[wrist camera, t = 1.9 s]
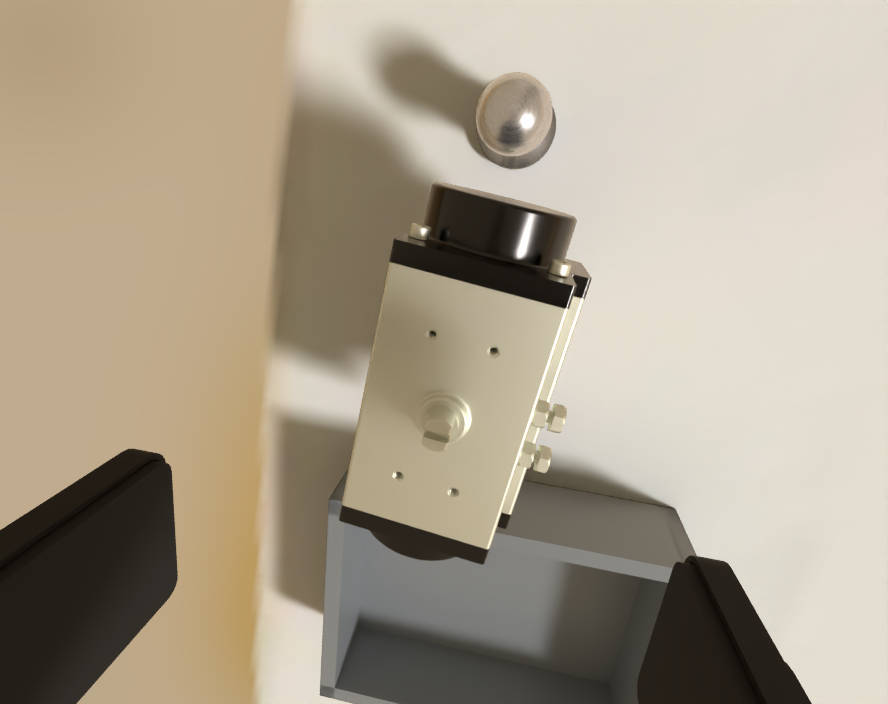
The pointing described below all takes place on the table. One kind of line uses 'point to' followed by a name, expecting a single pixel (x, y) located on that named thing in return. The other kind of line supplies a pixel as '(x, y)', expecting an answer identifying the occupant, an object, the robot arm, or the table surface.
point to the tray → (502, 607)
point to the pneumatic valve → (463, 373)
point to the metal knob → (515, 120)
